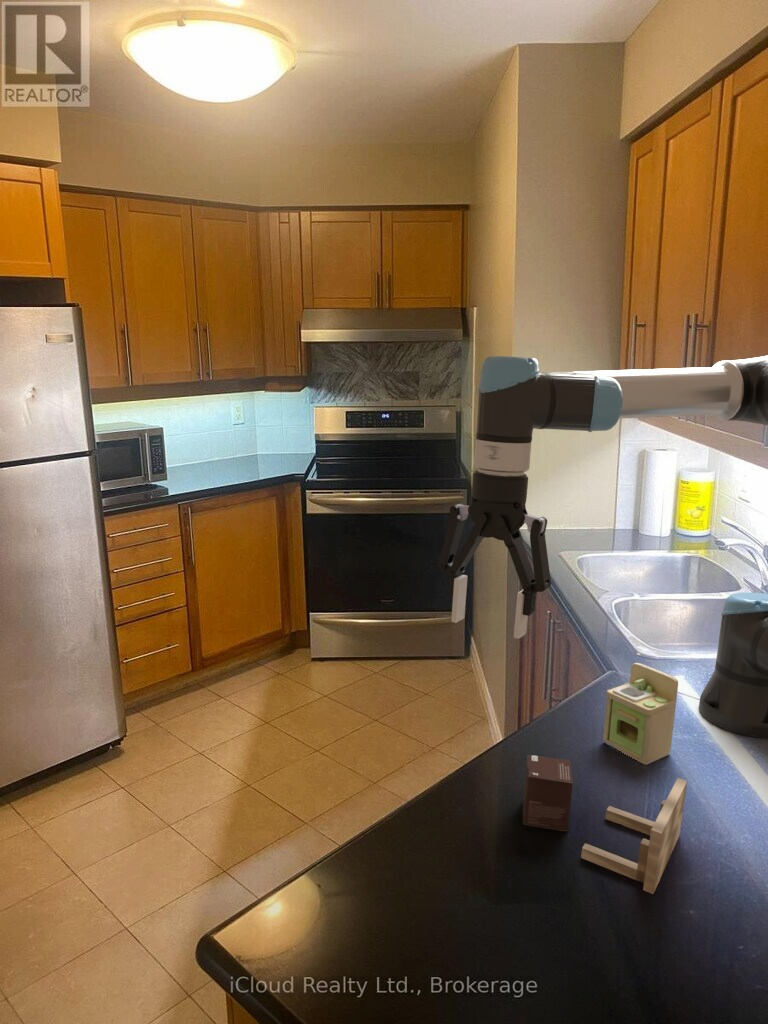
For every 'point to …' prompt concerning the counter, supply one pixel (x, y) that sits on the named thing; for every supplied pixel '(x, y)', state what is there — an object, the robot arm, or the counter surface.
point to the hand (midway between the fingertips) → (488, 627)
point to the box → (547, 793)
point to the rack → (645, 840)
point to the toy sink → (642, 714)
